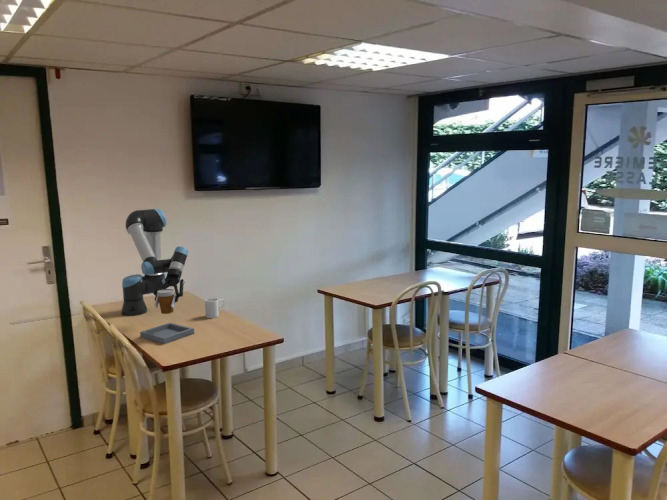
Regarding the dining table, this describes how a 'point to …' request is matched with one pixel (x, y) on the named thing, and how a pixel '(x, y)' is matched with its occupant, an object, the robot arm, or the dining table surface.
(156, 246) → the robot arm
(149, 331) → the slate tray
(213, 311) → the mug
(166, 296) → the disposable coffee cup
